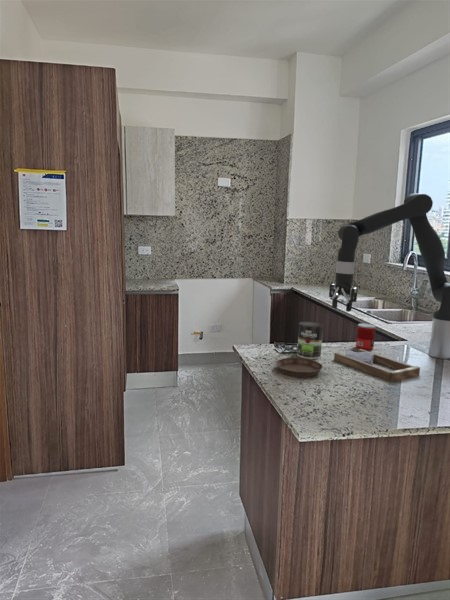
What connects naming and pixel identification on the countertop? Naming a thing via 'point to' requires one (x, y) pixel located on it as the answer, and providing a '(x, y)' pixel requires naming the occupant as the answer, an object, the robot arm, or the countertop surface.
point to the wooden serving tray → (400, 374)
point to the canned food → (365, 336)
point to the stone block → (361, 356)
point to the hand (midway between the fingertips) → (341, 309)
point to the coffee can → (310, 340)
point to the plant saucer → (299, 367)
